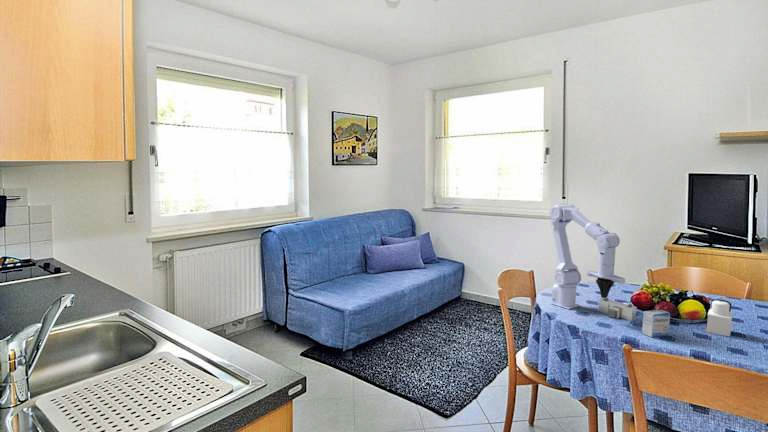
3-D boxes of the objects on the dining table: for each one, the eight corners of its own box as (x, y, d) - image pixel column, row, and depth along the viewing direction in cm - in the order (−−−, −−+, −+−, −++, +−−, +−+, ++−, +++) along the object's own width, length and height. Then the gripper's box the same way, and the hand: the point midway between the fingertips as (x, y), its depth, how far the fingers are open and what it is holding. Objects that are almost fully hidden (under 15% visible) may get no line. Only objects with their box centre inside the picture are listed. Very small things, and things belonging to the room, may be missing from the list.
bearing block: (598, 311, 193) (599, 297, 192) (602, 309, 194) (603, 296, 194) (631, 321, 181) (632, 306, 180) (635, 319, 183) (636, 305, 182)
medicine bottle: (707, 326, 175) (710, 296, 173) (730, 331, 171) (734, 300, 169) (705, 332, 170) (708, 301, 168) (729, 337, 165) (733, 305, 163)
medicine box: (651, 337, 164) (653, 314, 163) (641, 333, 169) (643, 310, 168) (668, 335, 167) (670, 312, 165) (658, 331, 171) (660, 308, 170)
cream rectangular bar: (615, 319, 184) (615, 310, 183) (606, 316, 187) (607, 308, 186) (633, 312, 192) (634, 304, 191) (625, 310, 195) (626, 301, 194)
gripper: (583, 261, 183) (581, 294, 185) (619, 268, 171) (616, 304, 173) (593, 259, 187) (591, 291, 189) (629, 266, 175) (626, 300, 177)
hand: (604, 297), depth 181 cm, fingers closed
